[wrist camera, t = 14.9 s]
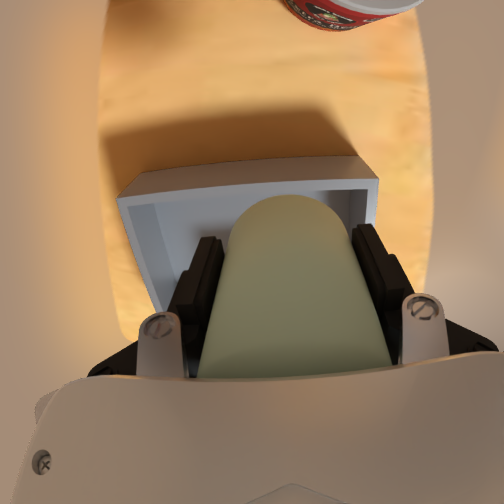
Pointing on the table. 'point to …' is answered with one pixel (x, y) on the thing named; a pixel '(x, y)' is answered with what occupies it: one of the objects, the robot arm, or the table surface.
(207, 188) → the tote
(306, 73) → the table surface
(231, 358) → the cylinder
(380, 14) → the canned food
